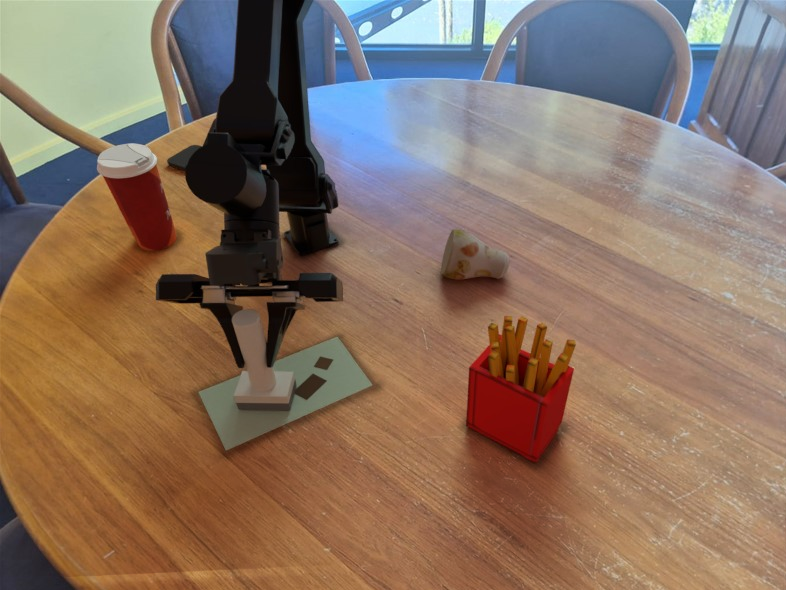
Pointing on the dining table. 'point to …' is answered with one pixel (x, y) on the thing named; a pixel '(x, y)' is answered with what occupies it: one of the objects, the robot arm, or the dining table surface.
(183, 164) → the phone
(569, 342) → the french fries container
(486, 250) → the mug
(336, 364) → the mat
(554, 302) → the dining table surface
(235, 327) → the white peg on base
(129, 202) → the paper cup
